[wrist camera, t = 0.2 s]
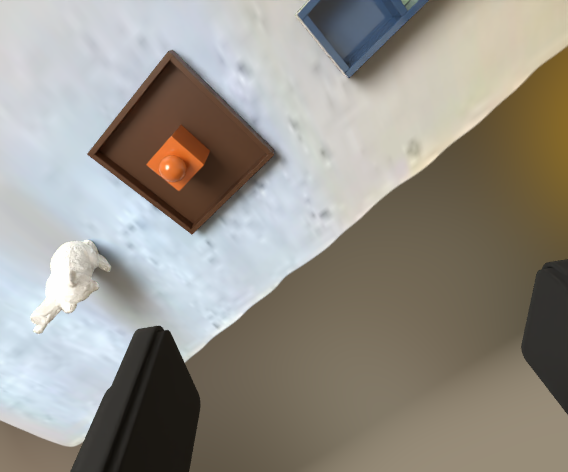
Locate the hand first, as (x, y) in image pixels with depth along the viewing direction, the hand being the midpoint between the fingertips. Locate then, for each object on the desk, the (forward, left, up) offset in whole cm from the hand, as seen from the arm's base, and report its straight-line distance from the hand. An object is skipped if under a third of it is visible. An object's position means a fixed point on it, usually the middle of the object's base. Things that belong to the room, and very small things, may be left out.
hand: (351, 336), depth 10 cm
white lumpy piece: (-4, -34, -37) cm, 51 cm away
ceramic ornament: (-4, -13, -37) cm, 39 cm away
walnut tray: (-4, -13, -37) cm, 39 cm away
